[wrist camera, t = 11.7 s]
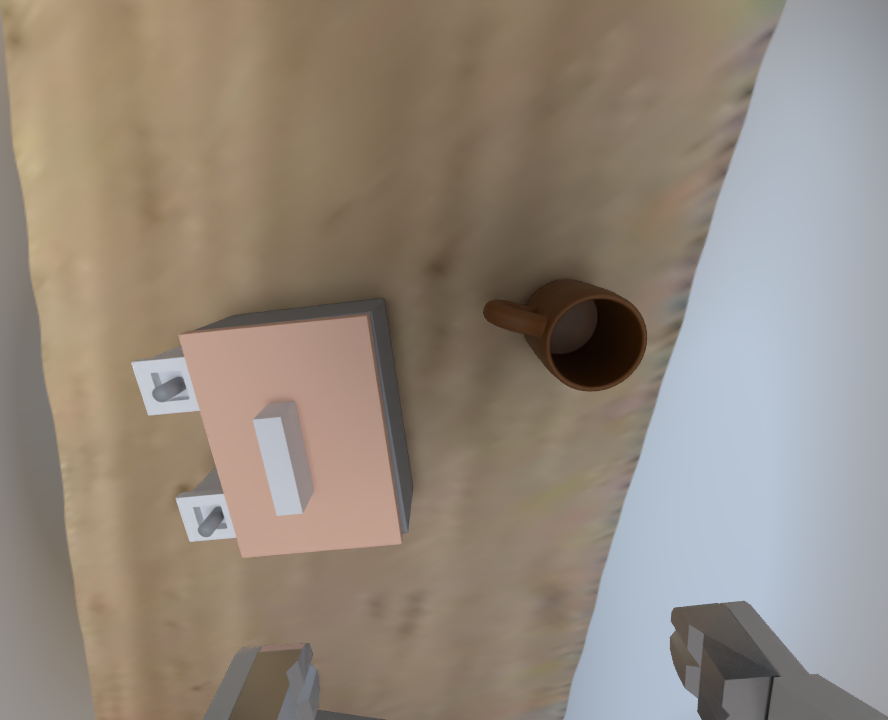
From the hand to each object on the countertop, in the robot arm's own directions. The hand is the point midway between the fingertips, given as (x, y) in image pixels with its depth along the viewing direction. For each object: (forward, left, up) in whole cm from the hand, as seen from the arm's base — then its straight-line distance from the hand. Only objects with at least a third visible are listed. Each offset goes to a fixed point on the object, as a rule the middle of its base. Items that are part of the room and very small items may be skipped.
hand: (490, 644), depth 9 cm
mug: (-1, +8, -31) cm, 32 cm away
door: (+6, -16, -24) cm, 29 cm away
